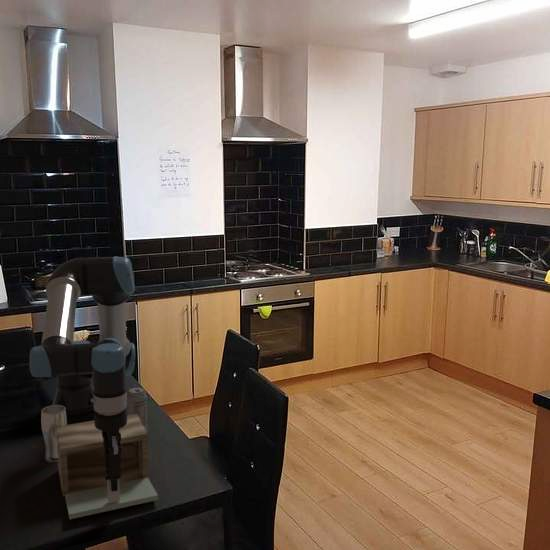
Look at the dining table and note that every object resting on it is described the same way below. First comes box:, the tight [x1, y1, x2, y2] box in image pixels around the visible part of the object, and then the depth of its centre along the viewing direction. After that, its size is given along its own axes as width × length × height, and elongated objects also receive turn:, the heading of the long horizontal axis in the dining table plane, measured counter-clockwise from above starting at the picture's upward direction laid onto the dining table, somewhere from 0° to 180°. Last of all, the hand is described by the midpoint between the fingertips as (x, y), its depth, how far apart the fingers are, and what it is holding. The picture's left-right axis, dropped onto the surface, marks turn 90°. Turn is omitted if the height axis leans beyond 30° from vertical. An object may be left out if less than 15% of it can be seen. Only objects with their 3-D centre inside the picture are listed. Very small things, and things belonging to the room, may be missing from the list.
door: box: [64, 477, 159, 520], centre depth 146 cm, size 2×21×12 cm
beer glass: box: [40, 404, 68, 464], centre depth 168 cm, size 7×7×15 cm
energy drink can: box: [126, 386, 148, 433], centre depth 184 cm, size 6×6×15 cm
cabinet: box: [56, 414, 150, 497], centre depth 158 cm, size 14×22×14 cm, turn 114°
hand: (113, 500), depth 141 cm, fingers closed
